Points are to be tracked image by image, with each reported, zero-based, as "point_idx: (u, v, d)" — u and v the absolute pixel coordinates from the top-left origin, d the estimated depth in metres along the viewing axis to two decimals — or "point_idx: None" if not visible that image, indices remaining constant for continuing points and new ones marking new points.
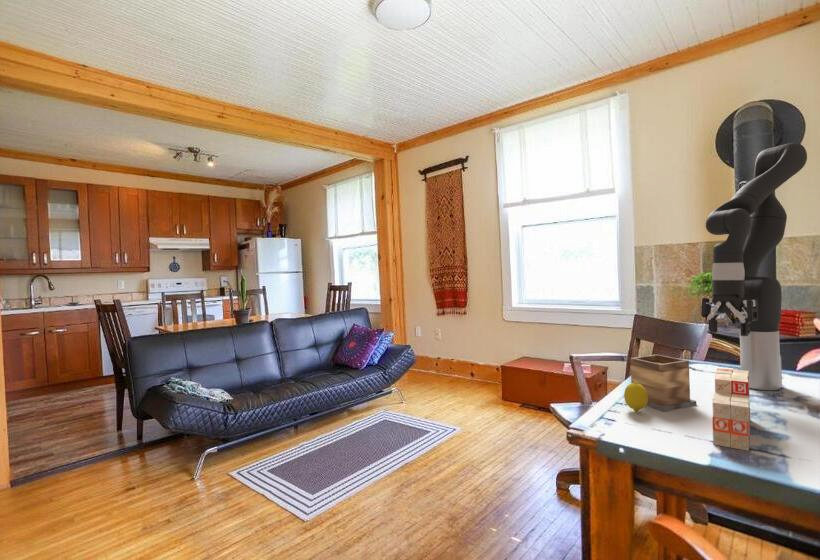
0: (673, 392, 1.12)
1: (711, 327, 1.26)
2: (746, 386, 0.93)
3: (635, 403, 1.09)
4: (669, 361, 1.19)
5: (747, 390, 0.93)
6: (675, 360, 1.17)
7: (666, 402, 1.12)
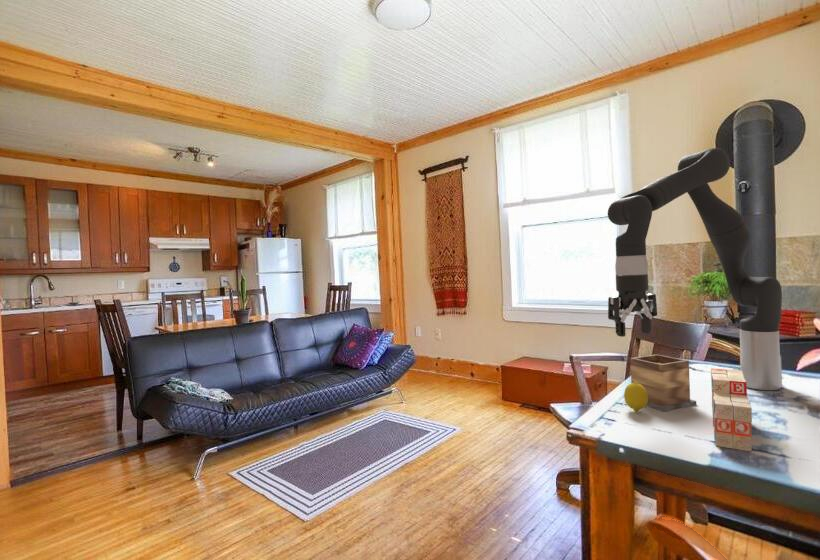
0: (673, 392, 1.12)
1: (624, 330, 1.08)
2: (744, 386, 0.93)
3: (635, 403, 1.09)
4: (669, 361, 1.19)
5: (745, 390, 0.93)
6: (675, 360, 1.17)
7: (666, 402, 1.12)
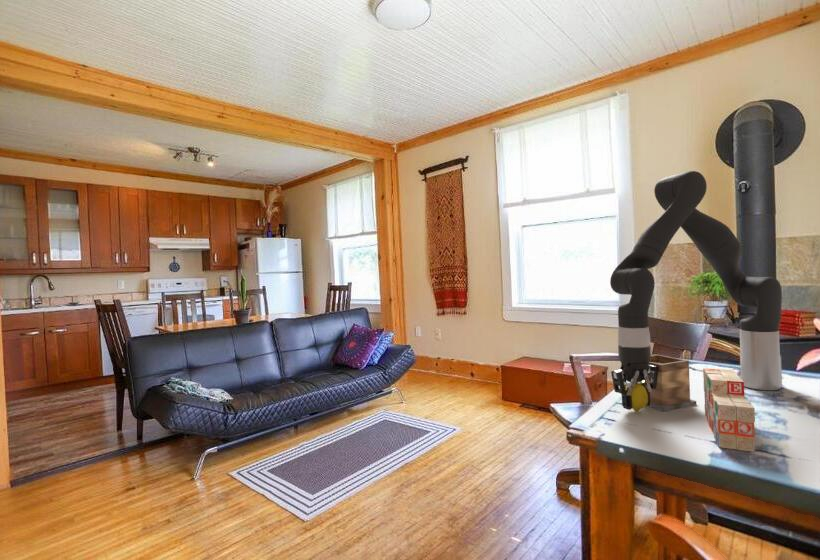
0: (673, 392, 1.12)
1: (630, 403, 1.09)
2: (742, 386, 0.93)
3: (635, 403, 1.09)
4: (669, 361, 1.19)
5: (742, 390, 0.93)
6: (675, 360, 1.17)
7: (666, 402, 1.12)
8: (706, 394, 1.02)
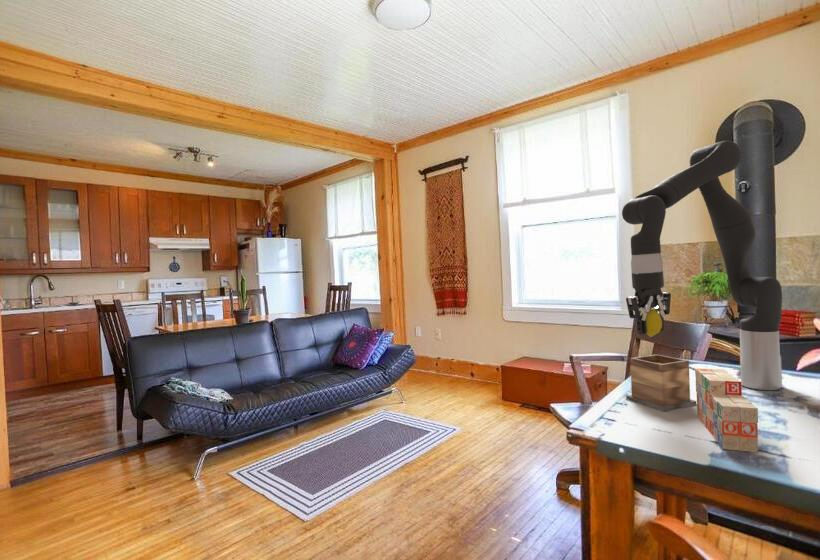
0: (673, 392, 1.12)
1: (645, 328, 1.12)
2: (739, 386, 0.93)
3: (649, 328, 1.12)
4: (669, 361, 1.19)
5: (740, 390, 0.93)
6: (675, 360, 1.17)
7: (666, 402, 1.12)
8: (700, 394, 1.02)
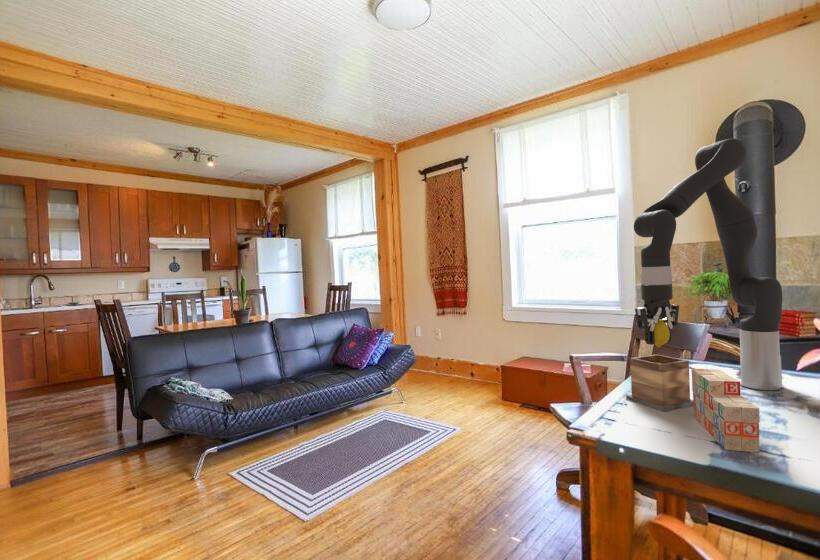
0: (673, 392, 1.12)
1: (653, 339, 1.15)
2: (738, 386, 0.93)
3: (657, 338, 1.15)
4: (669, 361, 1.19)
5: (738, 390, 0.93)
6: (675, 360, 1.17)
7: (666, 402, 1.12)
8: (697, 395, 1.02)
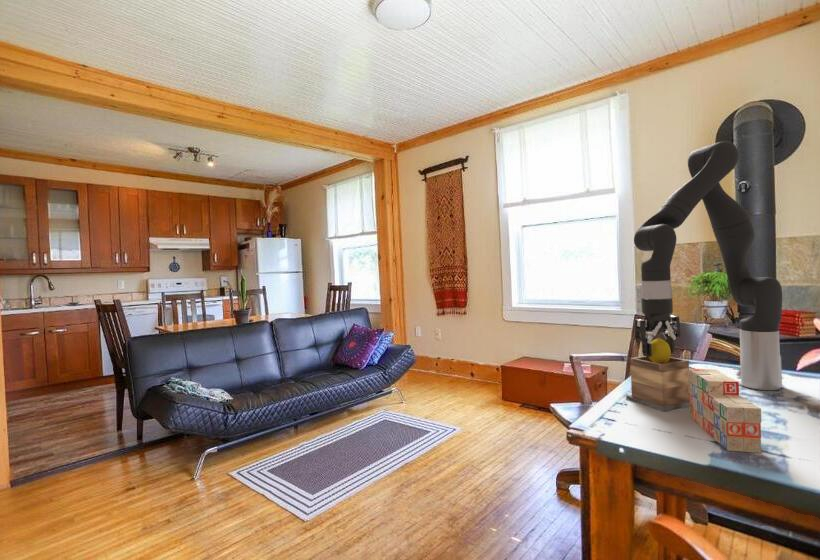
0: (673, 392, 1.12)
1: (650, 351, 1.15)
2: (736, 386, 0.93)
3: (659, 357, 1.15)
4: (669, 361, 1.19)
5: (737, 390, 0.93)
6: (675, 360, 1.17)
7: (666, 402, 1.12)
8: (695, 395, 1.02)
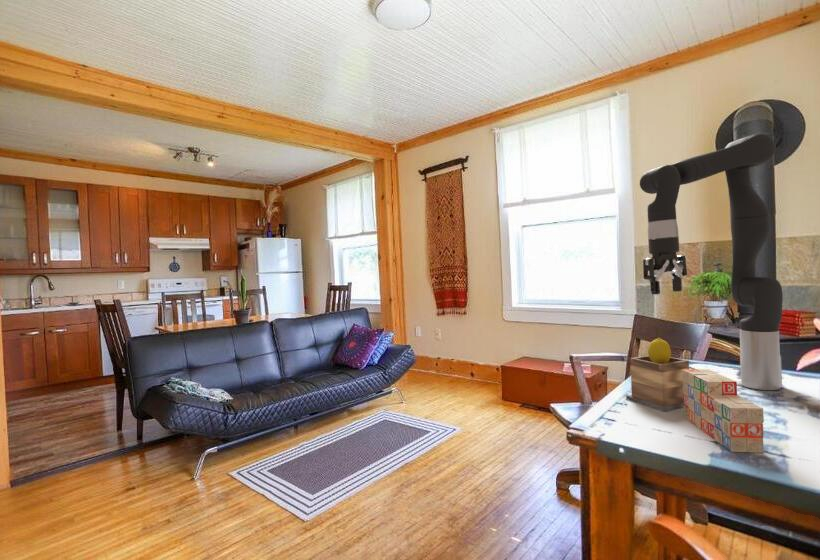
0: (673, 392, 1.12)
1: (659, 288, 1.19)
2: (734, 386, 0.93)
3: (659, 358, 1.15)
4: (669, 361, 1.19)
5: (735, 390, 0.93)
6: (675, 360, 1.17)
7: (666, 402, 1.12)
8: (691, 395, 1.02)
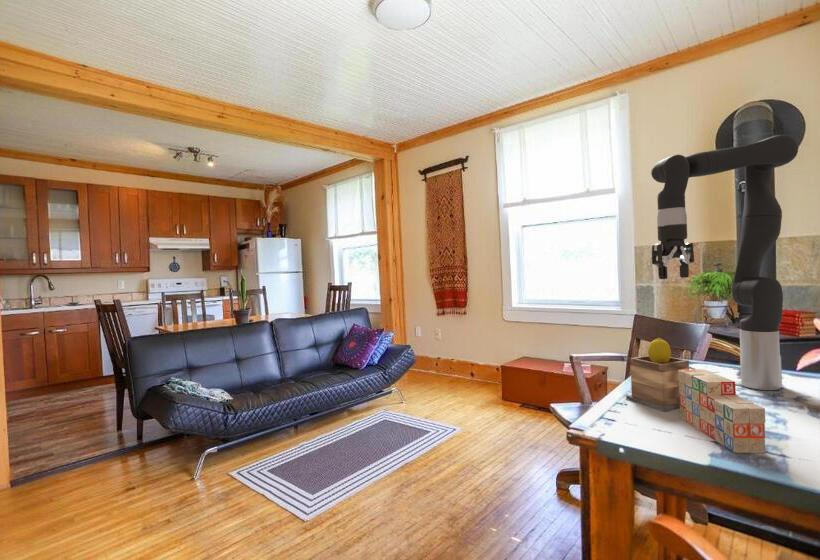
0: (673, 392, 1.12)
1: (666, 273, 1.23)
2: (733, 386, 0.93)
3: (659, 358, 1.15)
4: (669, 361, 1.19)
5: (734, 390, 0.93)
6: (675, 360, 1.17)
7: (666, 402, 1.12)
8: (688, 396, 1.02)
